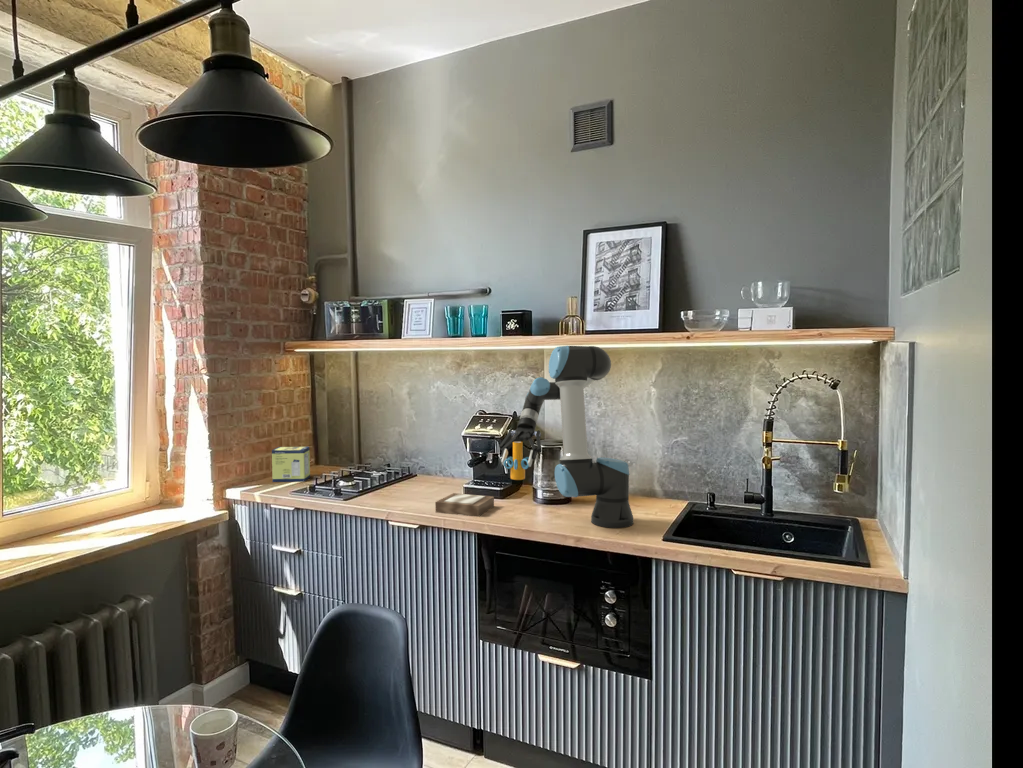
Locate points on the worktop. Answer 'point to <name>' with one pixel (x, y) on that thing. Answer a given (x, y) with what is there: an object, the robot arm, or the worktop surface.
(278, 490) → the worktop surface
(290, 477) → the protein box
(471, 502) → the pedestal
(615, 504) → the robot arm
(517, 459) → the cylinder
